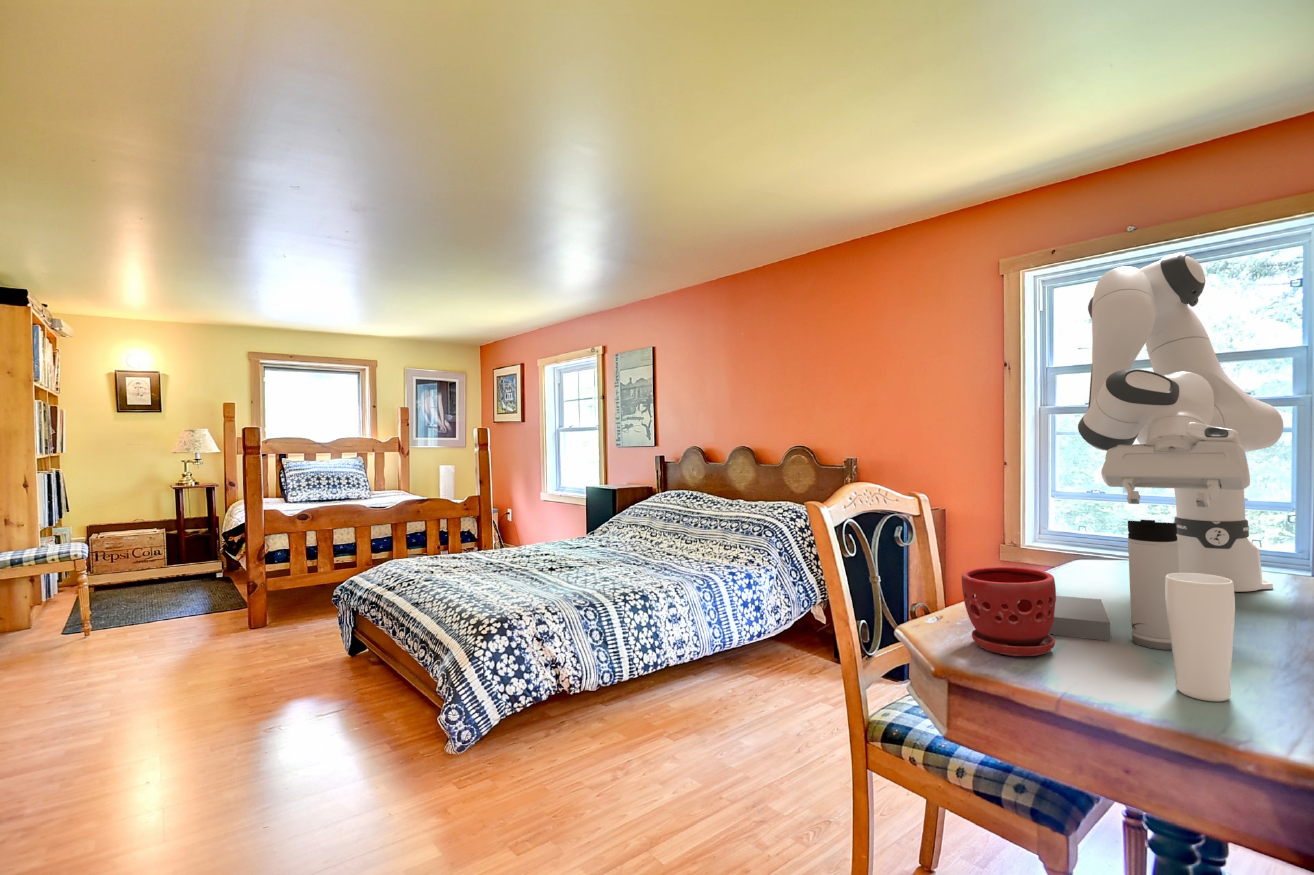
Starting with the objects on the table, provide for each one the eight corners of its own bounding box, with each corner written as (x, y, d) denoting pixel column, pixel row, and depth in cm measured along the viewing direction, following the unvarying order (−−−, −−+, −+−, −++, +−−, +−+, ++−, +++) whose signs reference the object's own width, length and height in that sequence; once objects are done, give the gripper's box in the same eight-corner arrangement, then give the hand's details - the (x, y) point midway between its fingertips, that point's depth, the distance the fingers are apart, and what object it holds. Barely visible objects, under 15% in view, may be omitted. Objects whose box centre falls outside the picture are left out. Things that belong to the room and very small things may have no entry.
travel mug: (1127, 645, 100) (1122, 519, 100) (1136, 635, 105) (1132, 514, 105) (1177, 654, 96) (1172, 521, 96) (1185, 643, 100) (1180, 517, 100)
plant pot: (1013, 632, 109) (1010, 562, 109) (1079, 657, 96) (1076, 578, 96) (946, 639, 106) (943, 568, 106) (1005, 666, 93) (1002, 585, 93)
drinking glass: (1245, 696, 80) (1240, 577, 80) (1230, 710, 76) (1225, 586, 76) (1178, 680, 86) (1174, 570, 86) (1161, 693, 82) (1156, 578, 82)
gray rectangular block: (1014, 607, 123) (1013, 592, 123) (1101, 615, 116) (1101, 599, 116) (1011, 630, 110) (1011, 613, 110) (1110, 641, 102) (1109, 622, 102)
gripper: (1104, 434, 121) (1090, 489, 115) (1249, 430, 106) (1243, 493, 99) (1112, 456, 124) (1099, 511, 118) (1254, 455, 108) (1248, 518, 102)
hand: (1166, 503), depth 108 cm, fingers open, 8 cm apart
